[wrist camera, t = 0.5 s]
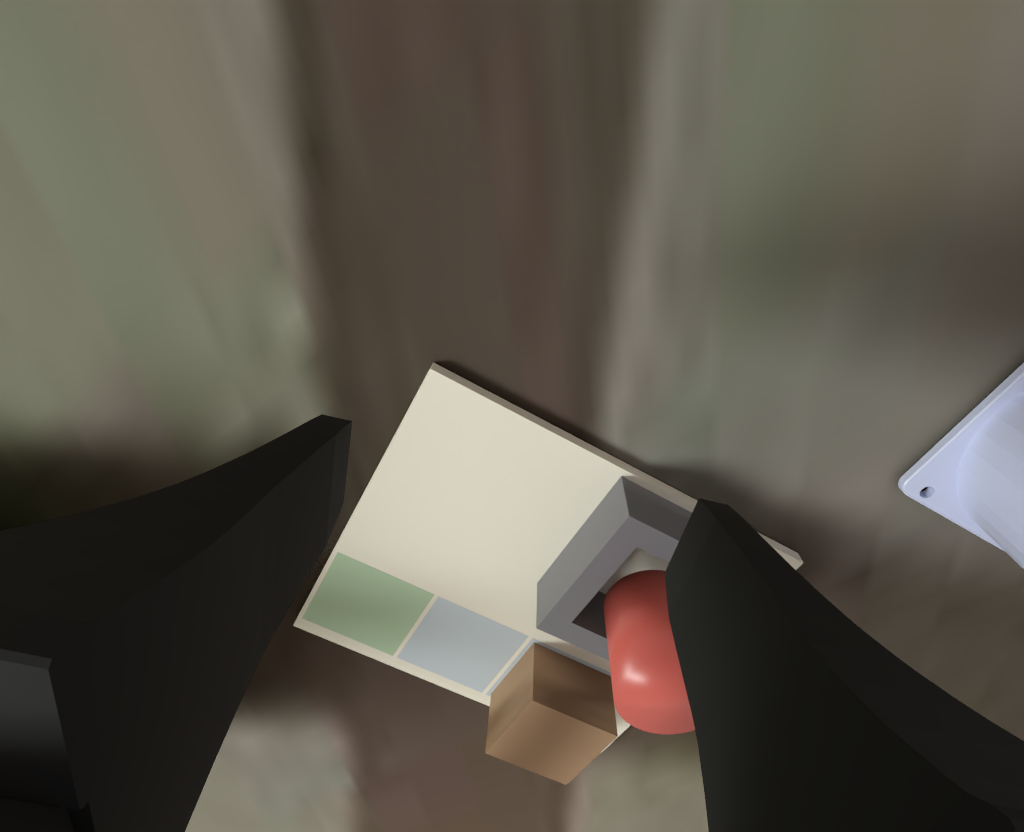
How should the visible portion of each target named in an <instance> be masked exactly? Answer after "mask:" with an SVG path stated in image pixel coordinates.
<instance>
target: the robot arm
mask: <svg viewBox="0 0 1024 832" xmlns="http://www.w3.org/2000/svg"><path fill="white" fill-rule="evenodd" d="M351 426H352V421H349V420H344V419H340V418H335V417H331V416H326V415H320V416H318V417H316V418H314V419H312V420H310V421H308V422H306V423H304V424H302V425H301V426H299V427H297V428H295V429H293V430H291V431H289V432H288V433H286V434H284V435H282V436H280V437H278V438H276V439H274V440H272V441H270V442H269V443H267V444H265V445H263V446H261V447H259V448H257V449H255V450H253V451H251V452H249V453H247V454H245V455H243V456H240V457H238V458H236V459H234V460H232V461H229V462H227V463H225V464H223V465H221V466H218V467H216V468H214V469H212V470H210V471H207V472H205V473H203V474H200V475H198V476H196V477H193V478H191V479H188V480H185V481H183V482H180V483H178V484H175V485H172V486H169V487H166V488H163V489H160V490H158V491H155V492H152V493H149V494H146V495H143V496H140V497H137V498H133V499H130V500H126V501H122V502H119V503H115V504H112V505H108V506H105V507H101V508H97V509H94V510H90V511H87V512H83V513H79V514H75V515H71V516H67V517H63V518H58V519H54V520H49V521H45V522H40V523H36V524H31V525H26V526H21V527H15V528H10V529H5V530H0V832H185V830H186V827H187V825H188V823H189V820H190V818H191V815H192V813H193V811H194V808H195V806H196V804H197V801H198V799H199V796H200V794H201V792H202V789H203V787H204V785H205V782H206V780H207V777H208V775H209V773H210V770H211V768H212V766H213V763H214V761H215V759H216V756H217V754H218V752H219V749H220V747H221V745H222V743H223V740H224V738H225V736H226V734H227V731H228V729H229V727H230V724H231V722H232V720H233V718H234V715H235V713H236V711H237V709H238V706H239V704H240V702H241V700H242V698H243V695H244V693H245V691H246V689H247V687H248V684H249V682H250V680H251V678H252V676H253V674H254V671H255V669H256V667H257V665H258V663H259V661H260V658H261V656H262V654H263V653H264V651H265V649H266V647H267V645H268V643H269V641H270V639H271V638H272V636H273V634H274V632H275V631H276V629H277V627H278V625H279V624H280V622H281V620H282V619H283V617H284V615H285V614H286V612H287V610H288V608H289V607H290V605H291V603H292V602H293V600H294V598H295V597H296V595H297V593H298V592H299V590H300V588H301V586H302V585H303V583H304V581H305V580H306V578H307V576H308V575H309V573H310V571H311V569H312V568H313V566H314V564H315V563H316V561H317V559H318V557H319V556H320V554H321V552H322V550H323V549H324V547H325V545H326V543H327V541H328V538H329V536H330V534H331V532H332V529H333V527H334V525H335V522H336V520H337V517H338V515H339V512H340V510H341V507H342V505H343V501H344V492H345V483H346V473H347V464H348V455H349V445H350V436H351ZM898 485H899V488H900V489H901V490H902V491H903V493H905V494H906V495H907V496H909V497H910V498H912V499H914V500H916V501H917V502H919V503H921V504H923V505H924V506H926V507H928V508H930V509H931V510H933V511H935V512H937V513H938V514H940V515H942V516H944V517H945V518H947V519H949V520H951V521H952V522H954V523H956V524H958V525H959V526H961V527H963V528H965V529H966V530H968V531H970V532H972V533H973V534H975V535H977V536H979V537H980V538H982V539H984V540H986V541H987V542H989V543H991V544H993V545H994V546H996V547H998V548H1000V549H1001V550H1003V551H1005V552H1006V553H1007V554H1008V555H1009V556H1011V557H1012V558H1013V559H1014V560H1015V561H1016V562H1017V563H1018V564H1019V565H1020V566H1021V567H1022V568H1023V569H1024V363H1023V364H1022V365H1021V366H1019V367H1018V368H1017V369H1016V370H1015V371H1014V372H1013V373H1012V374H1011V375H1010V376H1009V377H1008V378H1007V379H1006V380H1004V381H1003V382H1002V383H1001V384H1000V385H999V386H998V387H997V388H996V389H995V390H994V391H993V392H992V393H990V394H989V395H988V396H987V397H986V398H985V399H984V400H983V401H982V402H981V403H980V404H979V405H978V406H977V407H975V408H974V409H973V410H972V411H971V412H970V413H969V414H968V415H967V416H966V417H965V418H964V419H963V420H962V421H960V422H959V423H958V424H957V425H956V426H955V427H954V428H953V429H952V430H951V431H950V432H949V433H948V434H947V435H945V436H944V437H943V438H942V439H941V440H940V441H939V442H938V443H937V444H936V445H935V446H934V447H933V448H932V449H930V450H929V451H928V452H927V453H926V454H925V455H924V456H923V457H922V458H921V459H920V460H919V461H918V462H917V463H915V464H914V465H913V466H912V467H911V468H910V469H909V470H908V471H907V472H906V473H905V474H904V475H903V476H902V477H901V478H900V479H899V483H898ZM925 487H928V488H927V489H926V490H924V491H922V492H920V491H921V490H922V489H923V488H925ZM665 582H666V595H667V605H668V614H669V620H670V625H671V629H672V634H673V638H674V642H675V647H676V651H677V655H678V659H679V663H680V667H681V672H682V676H683V680H684V684H685V688H686V692H687V696H688V700H689V705H690V709H691V713H692V717H693V721H694V726H695V731H696V736H697V741H698V747H699V755H700V762H701V770H702V777H703V784H704V792H705V800H706V809H707V818H708V828H709V832H1024V741H1022V740H1021V739H1019V738H1017V737H1016V736H1014V735H1013V734H1011V733H1009V732H1008V731H1006V730H1004V729H1003V728H1001V727H999V726H998V725H996V724H994V723H993V722H991V721H989V720H988V719H986V718H985V717H983V716H982V715H980V714H979V713H977V712H975V711H974V710H972V709H971V708H969V707H968V706H966V705H965V704H963V703H961V702H960V701H958V700H957V699H956V698H954V697H953V696H951V695H950V694H948V693H947V692H945V691H944V690H942V689H941V688H940V687H938V686H937V685H935V684H934V683H932V682H931V681H929V680H928V679H926V678H925V677H924V676H922V675H921V674H919V673H918V672H916V671H915V670H914V669H912V668H911V667H910V666H908V665H907V664H906V663H904V662H903V661H901V660H900V659H899V658H897V657H896V656H895V655H894V654H892V653H891V652H890V651H888V650H887V649H886V648H885V647H883V646H882V645H881V644H880V643H878V642H877V641H876V640H874V639H873V638H872V637H871V636H869V635H868V634H867V633H866V632H864V631H863V630H862V629H861V628H859V627H858V626H857V625H856V624H855V623H853V622H852V621H851V620H850V619H849V618H847V617H846V616H845V615H844V614H843V613H842V612H841V611H840V610H838V609H837V608H836V607H835V606H834V605H833V604H832V603H831V602H829V601H828V600H827V599H826V598H825V597H824V596H823V595H822V594H820V593H819V592H818V591H817V590H816V589H815V588H814V587H813V586H812V585H811V584H810V583H809V582H808V581H807V580H805V579H804V578H803V577H802V576H801V575H800V574H799V573H798V572H797V571H796V570H795V569H794V568H793V567H792V566H791V565H790V564H789V563H788V562H787V561H786V560H785V559H784V558H783V557H782V556H781V555H780V554H779V553H778V552H777V551H776V550H775V549H774V548H773V547H772V546H771V545H770V544H769V543H768V542H767V541H766V540H765V539H764V538H763V537H762V536H761V535H760V534H759V533H758V532H757V531H756V530H755V529H754V528H752V527H751V526H750V525H749V524H748V523H747V522H746V521H745V520H744V519H743V518H742V517H741V516H740V515H739V514H738V513H737V512H735V511H734V510H733V509H732V508H731V507H729V506H728V505H726V504H721V503H717V502H712V501H708V500H703V499H698V501H697V503H696V506H695V508H694V510H693V512H692V514H691V517H690V519H689V521H688V523H687V525H686V527H685V530H684V532H683V534H682V536H681V538H680V540H679V543H678V545H677V547H676V549H675V551H674V553H673V556H672V558H671V560H670V562H669V564H668V567H667V569H666V571H665Z"/></svg>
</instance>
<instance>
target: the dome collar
mask: <svg viewBox="0 0 1024 832" xmlns="http://www.w3.org/2000/svg"><path fill="white" fill-rule="evenodd" d="M691 514H692V512H690V511H688V510H686V509H684V508H682V507H680V506H678V505H676V504H674V503H672V502H670V501H669V500H667V499H665V498H663V497H661V496H659V495H657V494H655V493H653V492H651V491H649V490H647V489H645V488H643V487H641V486H640V485H638V484H636V483H634V482H632V481H630V480H628V479H626V478H624V477H622V476H621V477H620V478H619V479H618V481H617V482H616V483H615V485H614V486H613V487H612V488H611V490H610V491H609V492H608V493H607V495H606V496H605V497H604V499H603V500H602V501H601V502H600V504H599V505H598V506H597V507H596V509H595V510H594V511H593V513H592V514H591V515H590V516H589V518H588V519H587V520H586V521H585V523H584V524H583V525H582V526H581V528H580V529H579V530H578V532H577V533H576V534H575V535H574V537H573V538H572V539H571V540H570V542H569V543H568V544H567V546H566V547H565V548H564V549H563V551H562V552H561V553H560V554H559V556H558V557H557V558H556V560H555V561H554V562H553V563H552V565H551V566H550V567H549V568H548V570H547V571H546V572H545V574H544V575H543V576H542V577H541V579H540V580H539V581H538V582H537V616H536V628H537V629H539V630H541V631H543V632H546V633H548V634H550V635H552V636H555V637H557V638H559V639H561V640H564V641H566V642H568V643H570V644H573V645H575V646H577V647H579V648H582V649H584V650H586V651H588V652H590V653H593V654H595V655H597V656H599V657H602V658H604V659H606V660H608V661H609V653H608V645H607V636H606V627H605V618H604V609H603V604H604V599H605V596H606V594H604V593H602V592H600V591H599V590H600V589H601V588H602V587H603V586H604V584H605V583H606V582H607V581H608V580H609V579H610V577H611V576H612V575H613V574H614V573H615V572H616V571H617V569H618V568H619V567H620V566H621V565H622V564H623V562H624V561H625V560H626V559H627V558H628V557H629V555H630V554H631V553H632V552H633V551H634V550H635V549H636V547H638V548H640V549H642V550H644V551H646V552H648V553H650V554H652V555H654V556H656V557H658V558H660V559H662V560H664V561H666V562H668V563H669V562H670V560H671V558H672V556H673V553H674V551H675V549H676V547H677V545H678V543H679V540H680V538H681V536H682V534H683V532H684V530H685V527H686V525H687V523H688V521H689V519H690V517H691Z"/></svg>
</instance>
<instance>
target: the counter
mask: <svg viewBox="0 0 1024 832" xmlns="http://www.w3.org/2000/svg"><path fill="white" fill-rule="evenodd" d="M617 737H618V734H617V725H616V716H615V707H614V698H613V690H612V681H611V676H609V675H607V674H605V673H602V672H600V671H598V670H596V669H593V668H591V667H589V666H586V665H584V664H582V663H580V662H577V661H575V660H573V659H571V658H568V657H566V656H564V655H561V654H559V653H557V652H555V651H552V650H550V649H548V648H546V647H543V646H541V645H539V644H537V643H533V644H532V645H531V647H530V648H529V649H528V650H527V651H526V653H525V654H524V655H523V656H522V657H521V659H520V660H519V661H518V662H517V663H516V665H515V666H514V667H513V668H512V669H511V670H510V672H509V673H508V674H507V675H506V676H505V678H504V679H503V680H502V681H501V682H500V684H499V685H498V686H497V687H496V688H495V690H494V691H493V692H492V693H491V699H490V710H489V720H488V731H487V741H486V751H485V753H486V754H489V755H491V756H494V757H496V758H499V759H501V760H504V761H507V762H509V763H512V764H514V765H517V766H519V767H522V768H524V769H527V770H529V771H532V772H535V773H537V774H540V775H542V776H545V777H547V778H550V779H552V780H555V781H557V782H560V783H562V784H565V785H567V784H568V783H569V782H570V781H571V780H572V779H573V778H574V777H575V776H576V775H577V774H578V773H579V772H580V771H582V770H583V769H584V768H585V767H586V766H587V765H588V764H589V763H590V762H591V761H592V760H593V759H594V758H595V757H596V756H598V755H599V754H600V753H601V752H602V751H603V750H604V749H605V748H606V747H607V746H608V745H609V744H610V743H611V742H612V741H614V740H615V739H616V738H617Z"/></svg>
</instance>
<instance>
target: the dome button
mask: <svg viewBox="0 0 1024 832" xmlns="http://www.w3.org/2000/svg"><path fill="white" fill-rule="evenodd" d="M603 609H604V618H605V627H606V636H607V645H608V653H609V662H610V671H611V680H612V689H613V698H614V704H615V708H616V710H617V712H618V713H619V715H620V716H621V717H622V718H623V719H624V720H625V721H626V722H627V723H629V724H630V725H632V726H634V727H636V728H638V729H640V730H643V731H647V732H650V733H656V734H680V733H686V732H690V731H693V730H695V726H694V721H693V717H692V713H691V709H690V705H689V700H688V696H687V692H686V688H685V684H684V680H683V676H682V672H681V667H680V663H679V659H678V655H677V651H676V647H675V642H674V638H673V634H672V629H671V625H670V620H669V614H668V605H667V595H666V582H665V571H664V570H643V571H638V572H635V573H632V574H629V575H627V576H625V577H623V578H621V579H620V580H618V581H617V582H616V583H615V584H614V585H613V586H612V587H611V588H610V589H609V590H608V592H607V594H606V596H605V599H604V604H603Z"/></svg>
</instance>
